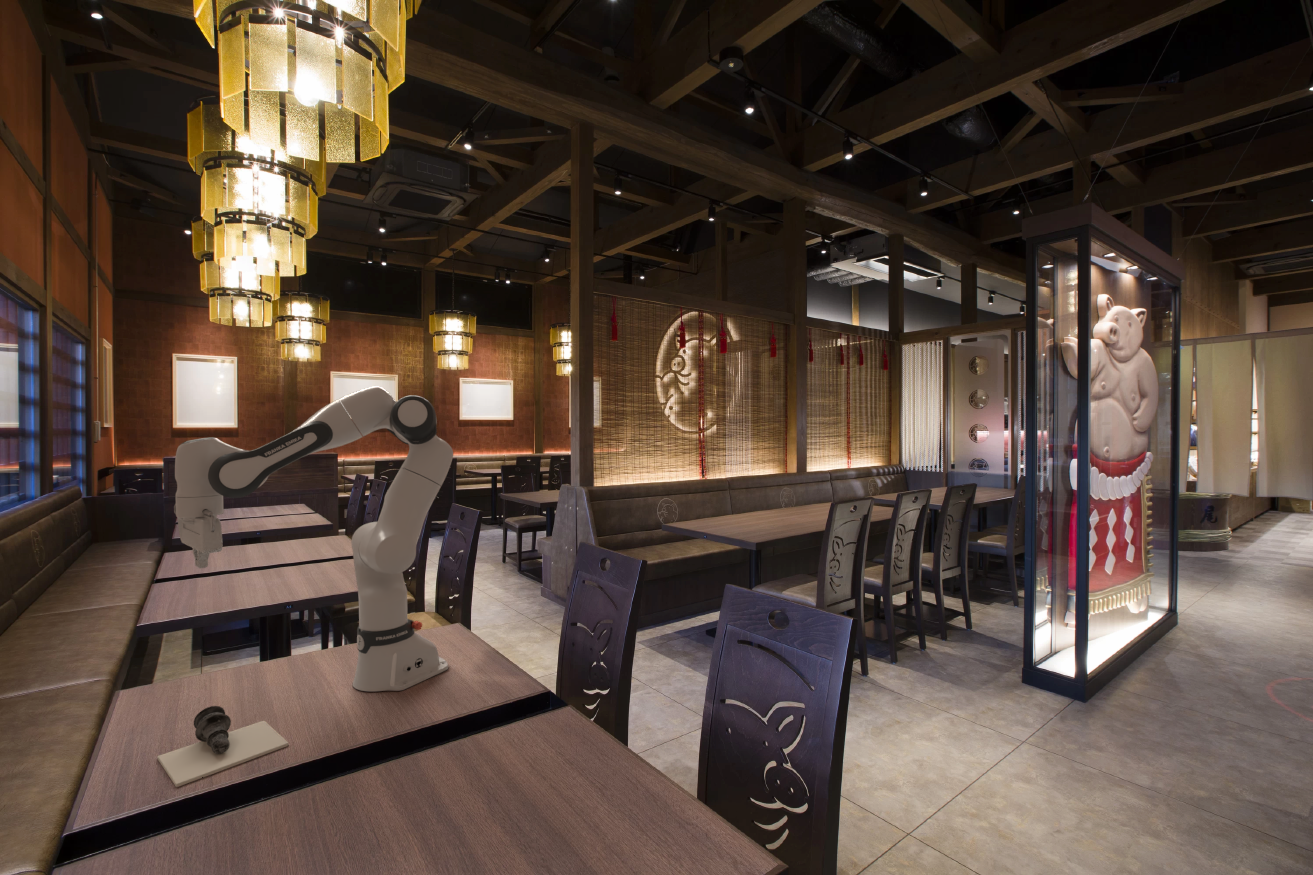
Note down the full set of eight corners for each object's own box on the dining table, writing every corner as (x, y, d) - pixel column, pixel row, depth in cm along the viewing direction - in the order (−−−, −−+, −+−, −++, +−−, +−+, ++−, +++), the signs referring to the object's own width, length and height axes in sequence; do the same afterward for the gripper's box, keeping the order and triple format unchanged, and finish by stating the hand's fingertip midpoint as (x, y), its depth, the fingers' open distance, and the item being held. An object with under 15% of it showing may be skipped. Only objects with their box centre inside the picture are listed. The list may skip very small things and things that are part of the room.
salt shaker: (205, 736, 124) (219, 772, 116) (184, 723, 121) (196, 758, 113) (233, 713, 127) (248, 746, 119) (213, 699, 124) (227, 732, 116)
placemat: (264, 722, 130) (264, 720, 130) (288, 745, 121) (288, 742, 121) (157, 758, 117) (157, 755, 117) (176, 787, 108) (176, 783, 108)
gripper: (230, 510, 136) (231, 571, 136) (204, 502, 149) (205, 558, 150) (195, 513, 131) (197, 577, 132) (172, 505, 144) (173, 562, 145)
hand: (201, 566), depth 141 cm, fingers closed
